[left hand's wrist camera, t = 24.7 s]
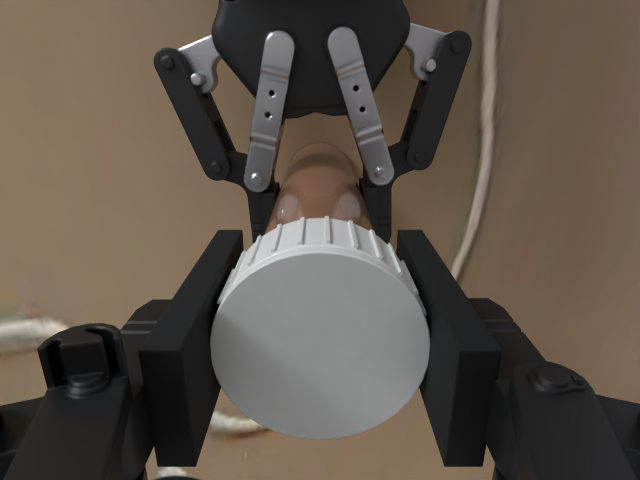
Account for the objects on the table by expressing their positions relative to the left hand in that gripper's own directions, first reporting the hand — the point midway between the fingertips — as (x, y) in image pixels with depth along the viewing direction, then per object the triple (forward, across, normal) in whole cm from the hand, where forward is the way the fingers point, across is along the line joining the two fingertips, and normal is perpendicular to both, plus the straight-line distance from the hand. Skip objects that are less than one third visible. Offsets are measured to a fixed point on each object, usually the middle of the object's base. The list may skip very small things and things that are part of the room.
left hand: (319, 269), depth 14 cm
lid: (-4, 0, 0) cm, 4 cm away
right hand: (+8, 0, -3) cm, 9 cm away
